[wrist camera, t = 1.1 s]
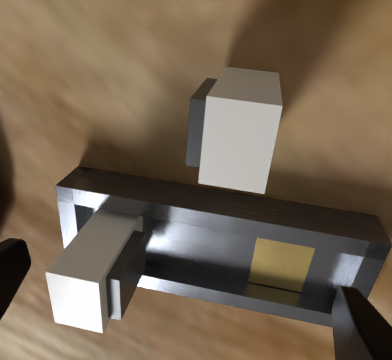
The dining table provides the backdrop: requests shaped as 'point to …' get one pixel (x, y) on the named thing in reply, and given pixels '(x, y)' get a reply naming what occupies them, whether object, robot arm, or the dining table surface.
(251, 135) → the block
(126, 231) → the block
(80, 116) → the dining table surface
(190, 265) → the grey rectangular tray
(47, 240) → the dining table surface
